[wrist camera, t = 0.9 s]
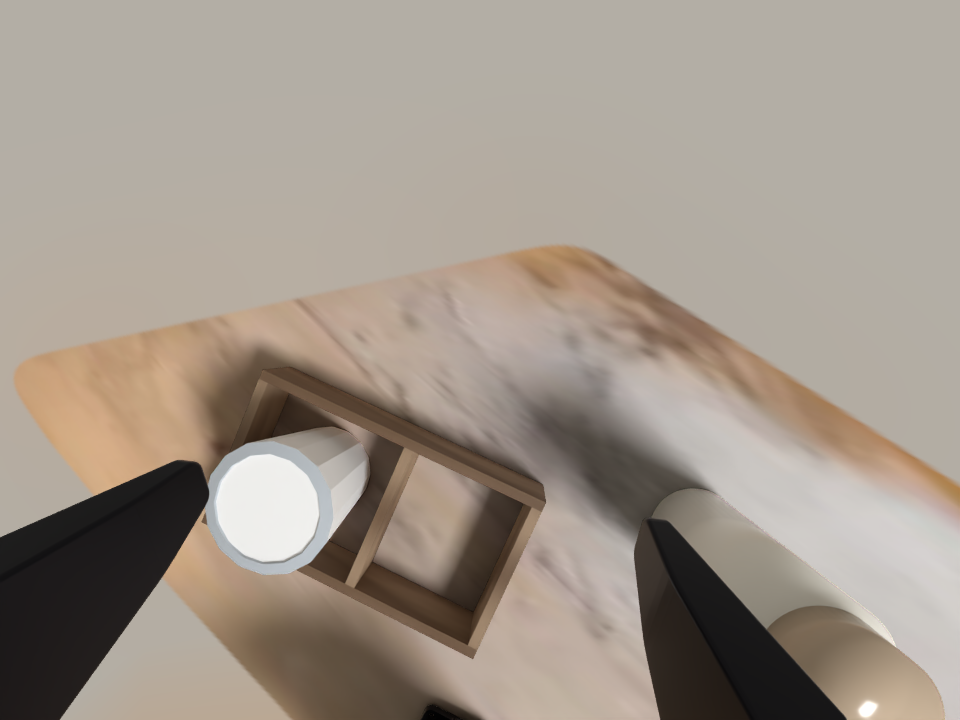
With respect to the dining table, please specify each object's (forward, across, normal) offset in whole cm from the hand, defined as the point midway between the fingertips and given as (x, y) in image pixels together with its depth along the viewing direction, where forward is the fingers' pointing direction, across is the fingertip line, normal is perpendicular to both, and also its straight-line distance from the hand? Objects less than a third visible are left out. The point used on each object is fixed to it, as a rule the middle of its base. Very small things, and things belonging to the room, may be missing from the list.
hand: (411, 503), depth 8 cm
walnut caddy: (+14, +6, +14) cm, 21 cm away
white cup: (+14, +10, +13) cm, 22 cm away
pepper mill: (+14, -13, +14) cm, 24 cm away
